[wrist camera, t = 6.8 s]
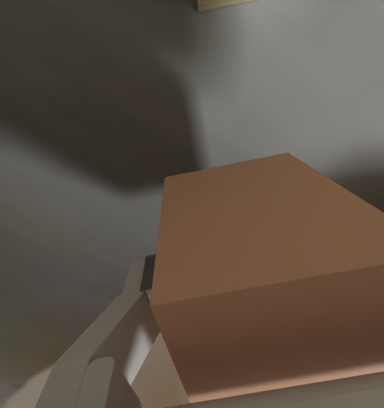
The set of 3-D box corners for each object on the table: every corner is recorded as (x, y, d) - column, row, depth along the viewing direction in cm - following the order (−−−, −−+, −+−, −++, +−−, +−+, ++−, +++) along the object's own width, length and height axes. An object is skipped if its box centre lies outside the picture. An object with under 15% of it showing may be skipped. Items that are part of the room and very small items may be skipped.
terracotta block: (188, 267, 12) (198, 423, 6) (165, 177, 9) (149, 306, 4) (286, 249, 11) (381, 393, 6) (288, 152, 9) (446, 252, 4)
